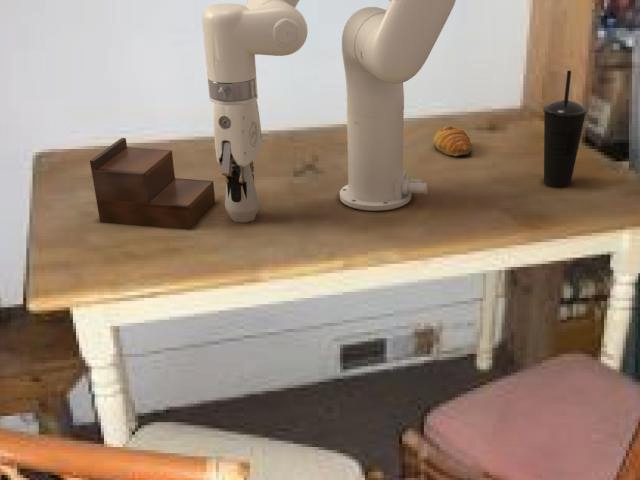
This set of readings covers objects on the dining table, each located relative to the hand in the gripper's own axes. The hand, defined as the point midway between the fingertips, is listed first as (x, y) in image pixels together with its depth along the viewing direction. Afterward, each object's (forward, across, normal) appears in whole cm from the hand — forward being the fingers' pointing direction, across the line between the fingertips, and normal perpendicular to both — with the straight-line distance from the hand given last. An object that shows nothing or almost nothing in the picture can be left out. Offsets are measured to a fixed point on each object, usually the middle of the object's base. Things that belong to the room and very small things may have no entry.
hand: (242, 199), depth 155 cm
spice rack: (+3, 0, +15) cm, 15 cm away
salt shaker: (+3, 0, 0) cm, 3 cm away
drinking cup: (+3, +27, -51) cm, 58 cm away
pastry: (+3, +42, -30) cm, 52 cm away
